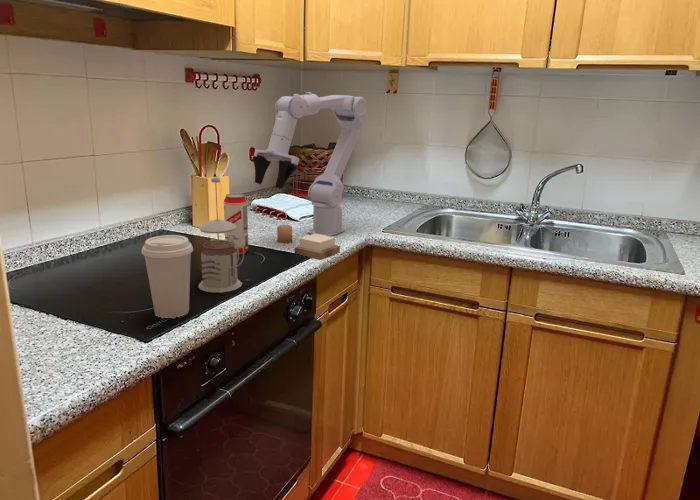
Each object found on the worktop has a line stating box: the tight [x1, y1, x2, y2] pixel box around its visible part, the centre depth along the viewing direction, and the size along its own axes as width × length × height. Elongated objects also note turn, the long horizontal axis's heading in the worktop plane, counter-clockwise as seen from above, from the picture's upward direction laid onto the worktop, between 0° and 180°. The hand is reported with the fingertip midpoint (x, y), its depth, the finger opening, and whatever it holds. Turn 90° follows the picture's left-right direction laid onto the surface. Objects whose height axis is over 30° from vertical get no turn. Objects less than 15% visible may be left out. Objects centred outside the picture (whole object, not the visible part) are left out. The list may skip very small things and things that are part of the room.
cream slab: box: [299, 234, 336, 252], centre depth 149 cm, size 7×7×2 cm
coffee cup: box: [141, 234, 194, 319], centre depth 105 cm, size 10×10×15 cm
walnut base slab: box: [294, 244, 341, 261], centre depth 149 cm, size 9×9×2 cm
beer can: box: [223, 193, 249, 256], centre depth 146 cm, size 6×6×16 cm
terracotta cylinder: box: [276, 224, 293, 244], centre depth 160 cm, size 4×4×4 cm
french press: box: [198, 176, 245, 293], centre depth 119 cm, size 10×12×25 cm
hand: (268, 185), depth 149 cm, fingers open, 7 cm apart
